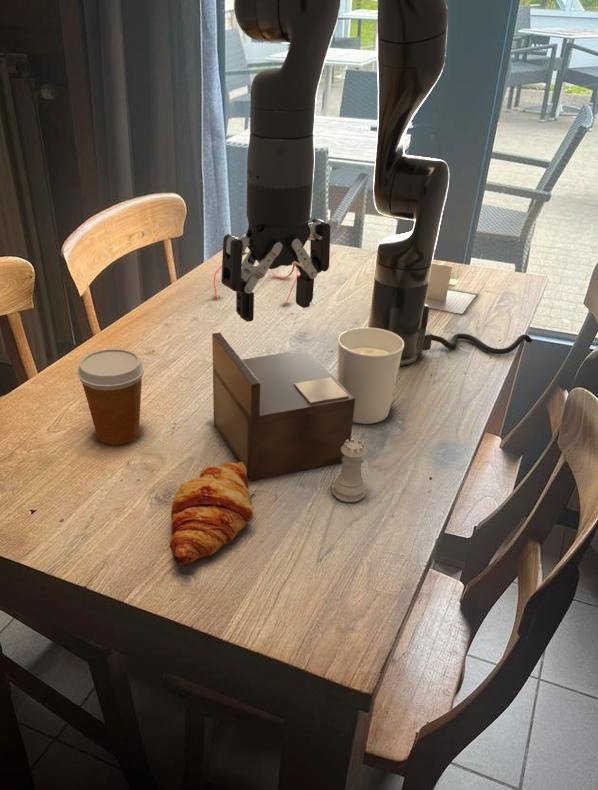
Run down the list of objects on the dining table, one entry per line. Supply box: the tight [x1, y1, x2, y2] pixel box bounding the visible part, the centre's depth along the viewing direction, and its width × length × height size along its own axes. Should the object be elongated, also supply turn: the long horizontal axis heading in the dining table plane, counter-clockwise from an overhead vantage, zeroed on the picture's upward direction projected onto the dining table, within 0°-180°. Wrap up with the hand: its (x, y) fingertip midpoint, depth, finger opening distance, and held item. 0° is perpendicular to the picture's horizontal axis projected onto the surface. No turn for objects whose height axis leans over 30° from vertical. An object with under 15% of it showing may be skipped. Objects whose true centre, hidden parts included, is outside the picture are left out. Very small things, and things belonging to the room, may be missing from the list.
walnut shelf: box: [211, 332, 355, 482], centre depth 103 cm, size 15×16×15 cm
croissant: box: [169, 462, 254, 565], centre depth 91 cm, size 21×10×8 cm, turn 162°
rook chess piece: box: [331, 438, 367, 503], centre depth 95 cm, size 4×4×8 cm
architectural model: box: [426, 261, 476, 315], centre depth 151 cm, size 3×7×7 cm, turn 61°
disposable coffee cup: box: [76, 347, 146, 446], centre depth 105 cm, size 10×10×12 cm
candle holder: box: [336, 326, 404, 425], centre depth 111 cm, size 10×10×12 cm
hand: (275, 312), depth 91 cm, fingers open, 8 cm apart
